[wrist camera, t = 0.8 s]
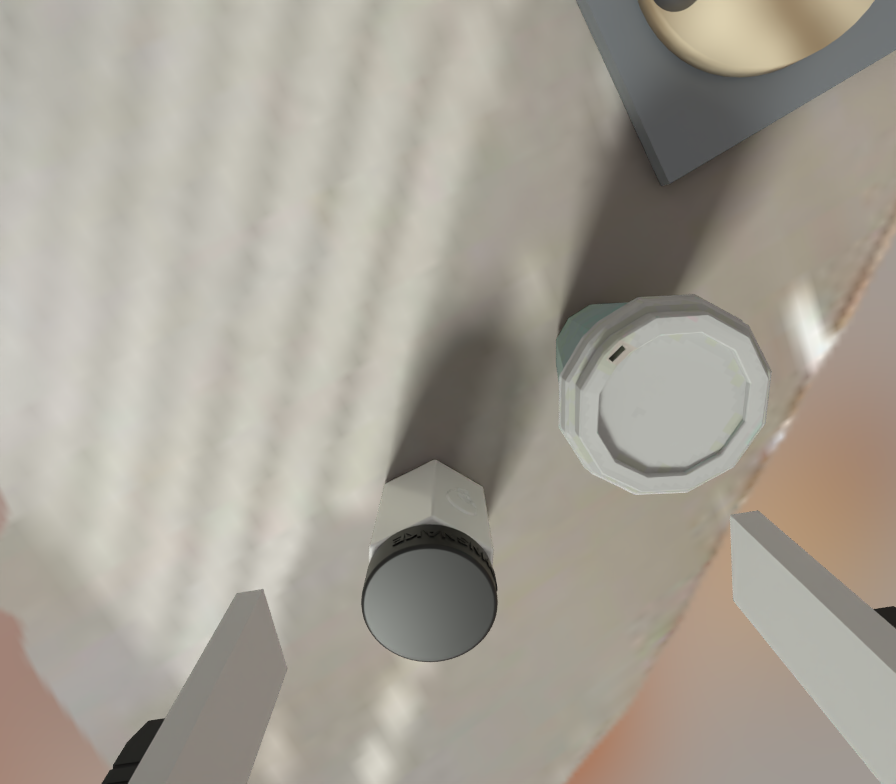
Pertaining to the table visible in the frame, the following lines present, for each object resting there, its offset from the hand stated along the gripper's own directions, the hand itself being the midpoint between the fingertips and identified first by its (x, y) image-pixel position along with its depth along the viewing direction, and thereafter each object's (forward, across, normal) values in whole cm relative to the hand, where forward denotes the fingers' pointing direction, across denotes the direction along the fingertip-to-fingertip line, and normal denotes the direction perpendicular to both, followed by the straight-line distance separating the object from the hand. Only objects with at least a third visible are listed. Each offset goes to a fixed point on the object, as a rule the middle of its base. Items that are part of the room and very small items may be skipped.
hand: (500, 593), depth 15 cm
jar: (+27, -4, -11) cm, 29 cm away
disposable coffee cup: (+27, +10, 0) cm, 28 cm away
